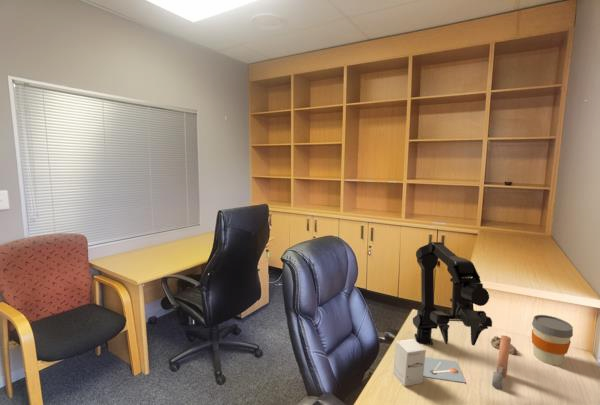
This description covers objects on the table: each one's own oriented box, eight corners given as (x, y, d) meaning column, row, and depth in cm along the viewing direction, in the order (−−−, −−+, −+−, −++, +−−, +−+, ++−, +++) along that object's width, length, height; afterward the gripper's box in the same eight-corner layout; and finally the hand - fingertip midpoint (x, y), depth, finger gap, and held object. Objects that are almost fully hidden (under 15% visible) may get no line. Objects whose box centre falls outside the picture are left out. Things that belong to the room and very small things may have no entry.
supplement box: (404, 387, 109) (407, 352, 107) (392, 373, 116) (394, 340, 114) (423, 383, 111) (426, 349, 109) (410, 370, 118) (413, 337, 116)
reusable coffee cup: (575, 370, 121) (581, 333, 119) (537, 365, 123) (542, 328, 121) (556, 351, 133) (561, 316, 131) (522, 346, 135) (526, 312, 133)
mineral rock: (484, 337, 138) (499, 330, 140) (485, 346, 139) (500, 338, 141) (507, 353, 128) (523, 345, 130) (507, 362, 129) (523, 354, 131)
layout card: (417, 356, 126) (417, 355, 126) (455, 361, 124) (456, 360, 124) (423, 376, 115) (423, 375, 115) (465, 383, 112) (465, 382, 112)
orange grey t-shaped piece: (501, 390, 109) (506, 351, 107) (490, 385, 111) (495, 347, 109) (506, 374, 117) (511, 337, 115) (497, 370, 119) (501, 334, 117)
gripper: (445, 302, 102) (443, 353, 102) (503, 305, 103) (502, 356, 102) (430, 294, 114) (428, 339, 113) (483, 297, 114) (481, 342, 113)
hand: (459, 344), depth 110 cm, fingers open, 9 cm apart
